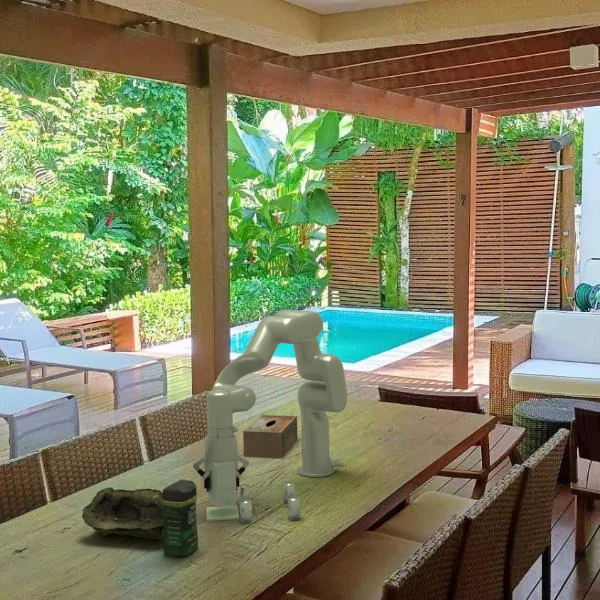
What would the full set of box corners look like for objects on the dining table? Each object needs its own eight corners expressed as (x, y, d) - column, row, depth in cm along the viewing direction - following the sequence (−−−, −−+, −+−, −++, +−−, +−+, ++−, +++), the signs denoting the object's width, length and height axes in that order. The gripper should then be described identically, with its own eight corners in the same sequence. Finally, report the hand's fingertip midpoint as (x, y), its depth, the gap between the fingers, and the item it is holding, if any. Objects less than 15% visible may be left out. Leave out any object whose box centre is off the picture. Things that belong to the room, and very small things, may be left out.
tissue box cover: (262, 439, 329) (261, 414, 328) (297, 440, 326) (297, 416, 325) (243, 457, 304) (243, 431, 303) (281, 459, 301) (280, 432, 300)
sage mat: (238, 507, 250) (237, 505, 250) (239, 519, 240) (239, 517, 240) (206, 509, 249) (206, 507, 249) (206, 521, 239) (206, 519, 239)
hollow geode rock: (179, 558, 224) (197, 507, 233) (160, 540, 215) (181, 487, 223) (94, 542, 235) (114, 494, 243) (73, 523, 225) (95, 474, 234)
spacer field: (294, 500, 256) (294, 481, 255) (300, 520, 238) (300, 500, 238) (238, 503, 254) (237, 484, 253) (240, 523, 236) (239, 503, 236)
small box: (237, 505, 242) (236, 461, 241) (216, 508, 239) (215, 465, 238) (227, 497, 249) (226, 455, 248) (207, 500, 246) (206, 458, 245)
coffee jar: (186, 560, 212) (183, 490, 210) (159, 556, 214) (156, 487, 213) (203, 546, 221) (201, 478, 219) (177, 542, 223) (175, 476, 222)
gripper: (249, 427, 247) (250, 484, 248) (190, 430, 245) (192, 487, 247) (250, 433, 239) (251, 492, 241) (190, 436, 237) (192, 495, 239)
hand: (221, 489), depth 244 cm, fingers closed on small box, 7 cm apart
